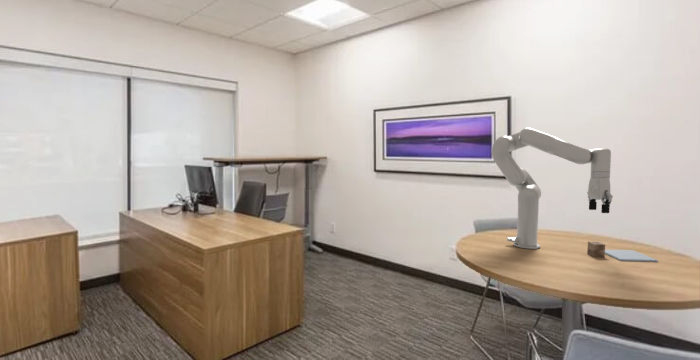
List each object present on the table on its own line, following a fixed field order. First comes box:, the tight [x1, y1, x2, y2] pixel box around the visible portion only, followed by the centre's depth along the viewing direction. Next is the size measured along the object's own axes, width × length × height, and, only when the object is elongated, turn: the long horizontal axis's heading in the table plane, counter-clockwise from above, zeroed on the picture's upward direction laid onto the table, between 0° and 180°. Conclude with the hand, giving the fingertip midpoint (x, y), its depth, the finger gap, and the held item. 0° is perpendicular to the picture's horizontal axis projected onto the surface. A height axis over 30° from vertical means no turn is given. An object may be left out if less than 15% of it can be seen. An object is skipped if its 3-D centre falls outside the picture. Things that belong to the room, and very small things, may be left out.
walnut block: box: [586, 241, 606, 258], centre depth 174 cm, size 5×5×6 cm
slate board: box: [605, 249, 658, 263], centre depth 173 cm, size 16×16×1 cm
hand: (598, 211), depth 173 cm, fingers open, 9 cm apart
